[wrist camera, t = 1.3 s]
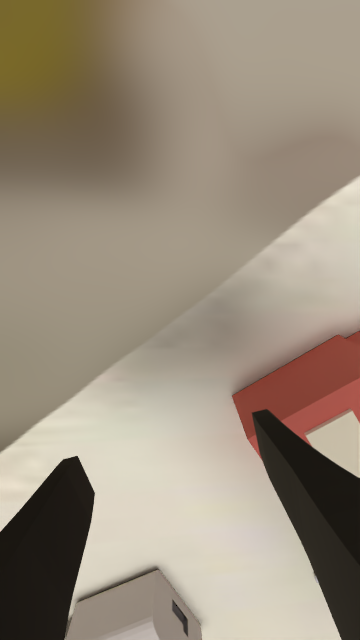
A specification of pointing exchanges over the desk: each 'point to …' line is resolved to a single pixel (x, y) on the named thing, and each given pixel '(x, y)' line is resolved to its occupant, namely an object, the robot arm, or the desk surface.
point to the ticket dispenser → (314, 400)
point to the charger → (135, 613)
